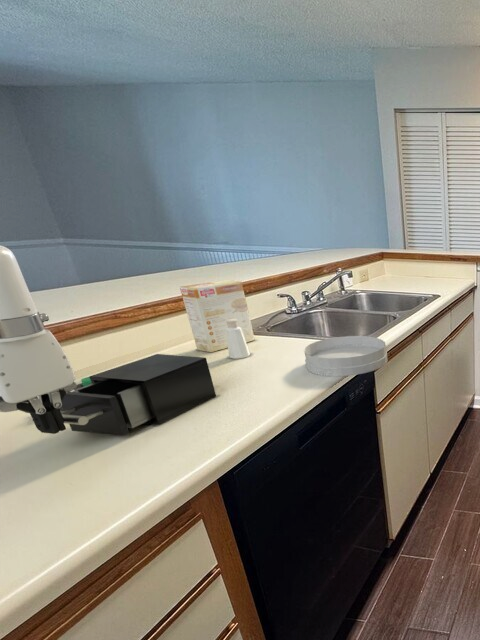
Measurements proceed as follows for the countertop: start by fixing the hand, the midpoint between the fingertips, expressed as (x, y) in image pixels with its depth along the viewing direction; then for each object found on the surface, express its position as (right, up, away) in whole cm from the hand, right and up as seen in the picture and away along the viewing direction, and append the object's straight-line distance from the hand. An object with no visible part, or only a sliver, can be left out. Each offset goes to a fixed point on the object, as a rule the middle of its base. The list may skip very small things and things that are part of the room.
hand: (53, 430), depth 73 cm
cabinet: (+3, +3, +20) cm, 20 cm away
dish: (+32, +14, +49) cm, 60 cm away
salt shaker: (-2, +16, +53) cm, 55 cm away
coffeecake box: (-12, +20, +63) cm, 67 cm away
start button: (-14, +8, +21) cm, 26 cm away
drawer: (+1, 0, +11) cm, 11 cm away
